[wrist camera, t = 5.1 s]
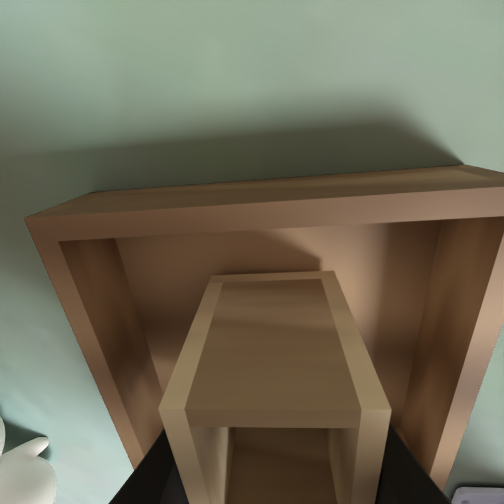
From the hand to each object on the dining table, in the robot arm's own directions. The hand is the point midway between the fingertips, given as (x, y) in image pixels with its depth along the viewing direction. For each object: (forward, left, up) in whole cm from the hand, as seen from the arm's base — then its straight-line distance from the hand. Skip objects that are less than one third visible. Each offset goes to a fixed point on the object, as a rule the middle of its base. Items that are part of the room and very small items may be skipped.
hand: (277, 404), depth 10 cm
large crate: (0, 0, -4) cm, 4 cm away
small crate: (0, 0, -3) cm, 3 cm away
